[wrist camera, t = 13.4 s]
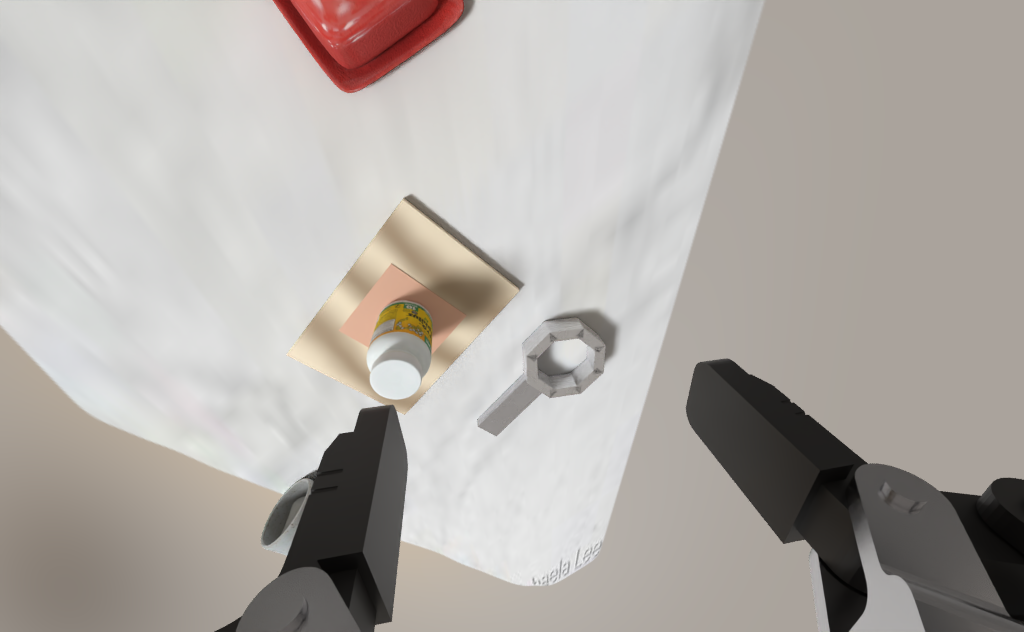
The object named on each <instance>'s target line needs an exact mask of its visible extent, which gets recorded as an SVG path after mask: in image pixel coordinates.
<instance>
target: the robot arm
mask: <svg viewBox="0 0 1024 632" xmlns="http://www.w3.org/2000/svg"><path fill="white" fill-rule="evenodd" d="M686 412H687V417H688V420H689V423H690V425H691V426H692V428H693V430H694V431H695V432H696V434H697V435H698V436H699V437H700V439H701V440H702V441H703V442H704V444H705V445H706V446H707V447H708V449H709V450H710V451H711V452H712V454H713V455H714V456H715V458H716V459H717V460H718V461H719V463H720V464H721V465H722V466H723V468H724V469H725V470H726V471H727V473H728V474H729V475H730V477H731V478H732V479H733V480H734V482H735V483H736V484H737V485H738V487H739V488H740V489H741V491H742V492H743V493H744V494H745V496H746V497H747V498H748V499H749V501H750V502H751V503H752V504H753V506H754V507H755V508H756V509H757V511H758V512H759V513H760V514H761V516H762V517H763V518H764V520H765V521H766V522H767V523H768V525H769V526H770V527H771V528H772V530H773V531H774V532H775V534H776V535H777V536H778V537H779V539H780V540H781V541H782V542H783V544H785V543H790V542H795V541H800V540H804V539H805V540H806V541H807V542H808V543H809V544H810V546H811V547H812V549H811V551H810V554H809V563H810V571H811V578H812V586H813V593H814V600H815V608H816V615H817V623H818V630H819V632H1024V480H1022V479H1016V478H1000V479H997V480H995V481H994V482H993V483H992V484H991V485H990V486H989V487H988V488H987V490H986V491H985V492H984V493H983V494H982V496H977V495H969V494H960V493H952V492H943V491H938V490H937V489H936V488H934V487H933V486H932V485H930V484H929V483H927V482H926V481H924V480H922V479H921V478H919V477H917V476H915V475H913V474H911V473H909V472H906V471H904V470H901V469H898V468H895V467H892V466H888V465H884V464H868V463H867V462H865V461H864V460H863V459H861V458H860V457H859V456H858V455H857V454H855V453H854V452H853V451H852V450H851V449H849V448H848V447H847V446H846V445H845V444H843V443H842V442H841V441H840V440H838V439H837V438H836V437H835V436H834V435H832V434H831V433H830V432H829V431H827V430H826V429H825V428H824V427H823V426H821V425H820V424H819V423H818V422H816V421H815V420H814V419H813V418H812V417H811V416H809V415H805V412H804V411H803V410H802V409H801V408H800V407H798V406H797V405H796V404H795V403H791V402H790V399H789V398H787V397H786V396H785V395H784V394H783V393H781V392H780V391H779V390H778V389H776V388H775V387H774V386H773V385H771V384H769V383H767V382H765V381H763V380H761V379H759V378H757V377H755V376H753V375H749V374H748V373H746V372H745V371H744V370H743V369H742V368H740V366H738V365H737V364H736V363H735V362H733V361H732V360H730V359H720V360H713V361H706V362H700V363H698V364H697V365H696V367H695V369H694V373H693V378H692V382H691V387H690V391H689V396H688V400H687V406H686ZM407 471H408V463H407V452H406V447H405V443H404V439H403V435H402V431H401V427H400V424H399V420H398V416H397V412H396V409H395V406H394V405H385V406H378V407H371V408H364V409H361V411H360V413H359V416H358V419H357V423H356V426H355V429H354V432H349V433H342V434H339V435H338V436H337V438H336V439H335V440H334V441H333V442H332V444H331V445H330V446H329V447H328V449H327V450H326V451H325V452H324V455H323V457H322V460H321V463H320V466H319V468H318V471H317V477H315V480H314V482H313V485H312V488H311V494H310V495H309V496H308V499H307V502H306V505H305V507H304V510H303V513H302V516H301V518H300V521H299V524H298V527H297V530H296V532H295V535H294V538H293V541H292V543H291V546H290V549H289V552H288V555H287V558H286V560H285V563H284V566H283V568H282V570H281V572H280V574H279V576H278V578H276V579H275V580H273V581H272V582H271V583H269V584H268V585H267V586H266V587H265V588H263V589H262V590H261V591H260V592H259V593H258V595H257V596H256V597H255V598H254V599H253V600H252V602H251V603H250V604H249V606H248V607H247V609H246V610H245V612H244V614H243V616H241V617H240V618H238V619H237V620H235V621H234V622H232V623H230V624H228V625H227V626H225V627H223V628H221V629H219V630H217V631H215V632H374V627H375V625H377V624H382V623H387V622H391V621H392V613H393V603H394V594H395V585H396V575H397V566H398V557H399V547H400V538H401V529H402V519H403V510H404V501H405V491H406V482H407Z"/></svg>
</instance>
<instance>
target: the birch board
mask: <svg viewBox="0 0 1024 632" xmlns="http://www.w3.org/2000/svg"><path fill="white" fill-rule="evenodd" d="M518 292H519V288H518V287H517V286H516V285H514V284H513V283H512V282H511V281H509V280H508V279H507V278H505V277H504V276H503V275H502V274H500V273H499V272H498V271H496V270H495V269H494V268H493V267H491V266H490V265H489V264H488V263H486V262H485V261H484V260H482V259H481V258H480V257H479V256H477V255H476V254H475V253H474V252H472V251H471V250H470V249H468V248H467V247H466V246H465V245H463V244H462V243H461V242H459V241H458V240H457V239H456V238H454V237H453V236H452V235H451V234H449V233H448V232H447V231H445V230H444V229H443V228H442V227H440V226H439V225H438V224H437V223H435V222H434V221H433V220H431V219H430V218H429V217H428V216H426V215H425V214H424V213H422V212H421V211H420V210H419V209H417V208H416V207H415V206H414V205H412V204H411V203H410V202H408V201H407V200H406V199H405V198H403V200H402V201H401V202H400V204H399V205H398V206H397V208H396V209H395V210H394V212H393V213H392V214H391V216H390V217H389V218H388V220H387V221H386V222H385V224H384V225H383V226H382V228H381V229H380V230H379V232H378V233H377V234H376V236H375V237H374V238H373V240H372V241H371V242H370V244H369V245H368V246H367V248H366V249H365V250H364V252H363V253H362V254H361V256H360V257H359V258H358V260H357V261H356V262H355V264H354V265H353V266H352V268H351V269H350V270H349V272H348V273H347V274H346V276H345V277H344V278H343V280H342V281H341V282H340V284H339V285H338V286H337V288H336V289H335V290H334V292H333V293H332V294H331V296H330V297H329V298H328V300H327V301H326V302H325V304H324V305H323V306H322V308H321V309H320V310H319V312H318V313H317V314H316V316H315V317H314V318H313V320H312V321H311V322H310V324H309V325H308V326H307V328H306V329H305V330H304V332H303V333H302V334H301V336H300V337H299V338H298V340H297V341H296V342H295V344H294V345H293V346H292V348H291V349H290V350H289V352H288V353H287V356H289V357H291V358H293V359H295V360H297V361H299V362H301V363H303V364H305V365H307V366H309V367H311V368H313V369H315V370H317V371H319V372H321V373H323V374H325V375H327V376H329V377H331V378H333V379H335V380H337V381H339V382H341V383H343V384H345V385H347V386H349V387H351V388H353V389H355V390H357V391H359V392H361V393H363V394H365V395H367V396H368V397H370V398H372V399H374V400H376V401H378V402H380V403H382V404H384V405H394V406H395V409H396V411H398V412H400V413H402V414H404V415H405V414H406V413H407V412H408V411H409V410H410V408H411V407H412V406H413V405H414V404H415V403H416V402H417V401H418V400H419V399H420V398H421V397H422V396H423V394H424V393H425V392H426V391H427V390H428V389H429V388H430V387H431V386H432V385H433V384H434V383H435V381H436V380H437V379H438V378H439V377H440V376H441V375H442V374H443V373H444V372H445V371H446V370H447V369H448V367H449V366H450V365H451V364H452V363H453V362H454V361H455V360H456V359H457V358H458V357H459V356H460V354H461V353H462V352H463V351H464V350H465V349H466V348H467V347H468V346H469V345H470V344H471V343H472V342H473V340H474V339H475V338H476V337H477V336H478V335H479V334H480V333H481V332H482V331H483V330H484V329H485V327H486V326H487V325H488V324H489V323H490V322H491V321H492V320H493V319H494V318H495V317H496V316H497V315H498V313H499V312H500V311H501V310H502V309H503V308H504V307H505V306H506V305H507V304H508V303H509V302H510V300H511V299H512V298H513V297H514V296H515V295H516V294H517V293H518ZM399 300H407V301H412V302H415V303H418V304H420V305H422V306H423V307H424V308H425V309H426V310H427V311H428V312H429V314H430V315H431V318H432V322H433V332H432V353H431V364H430V367H429V370H428V372H427V373H426V375H425V376H424V377H423V378H422V382H421V385H420V387H419V389H418V390H417V392H416V393H414V394H413V395H412V396H410V397H408V398H404V399H399V400H394V399H388V398H385V397H382V396H380V395H379V394H377V393H376V392H375V391H374V390H373V388H372V386H371V384H370V373H371V372H370V370H369V368H368V365H367V352H368V348H369V345H370V342H371V339H372V336H373V332H374V329H375V326H376V323H377V320H378V317H379V314H380V313H381V311H382V310H383V309H384V308H385V307H386V306H387V305H389V304H390V303H392V302H395V301H399Z"/></svg>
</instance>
